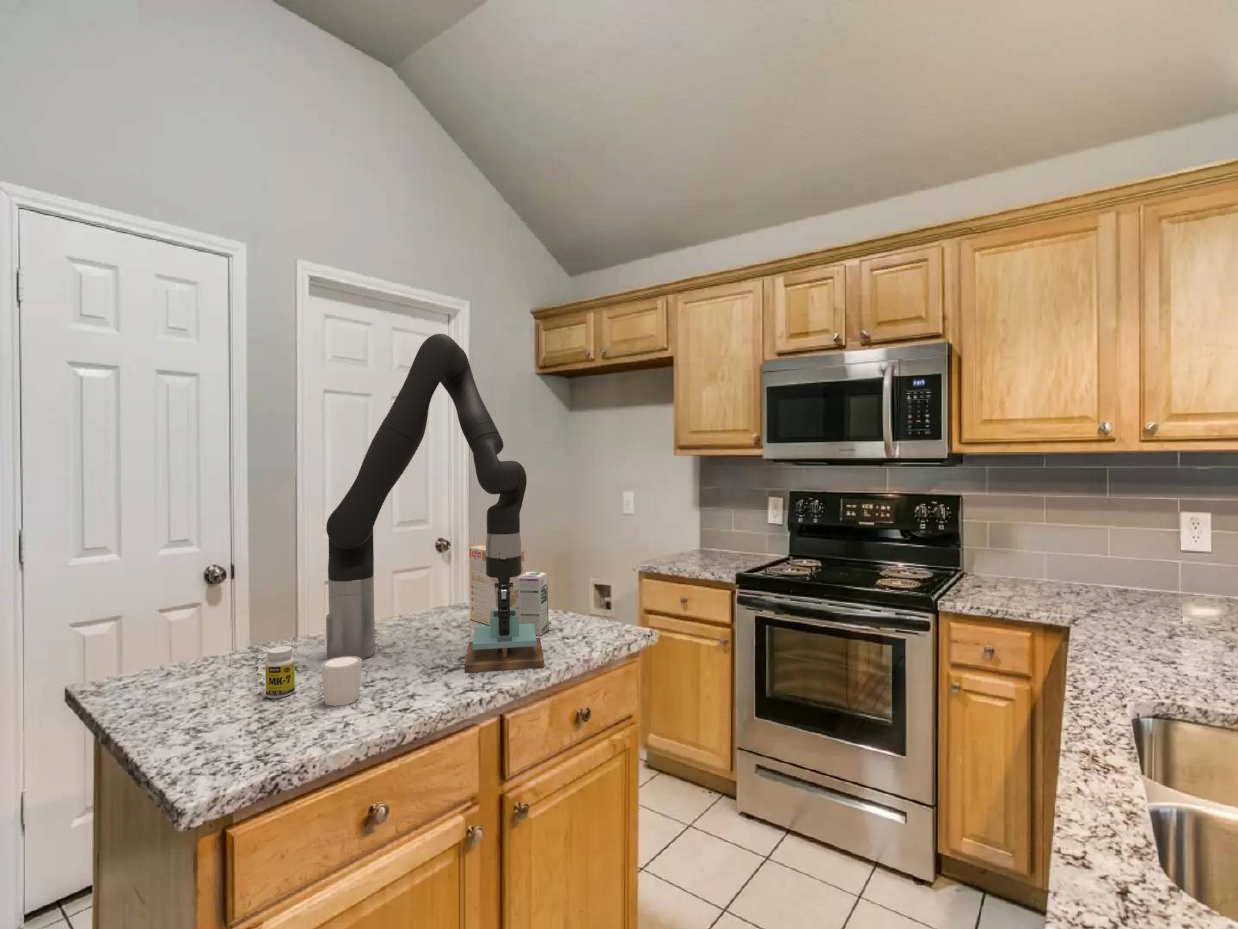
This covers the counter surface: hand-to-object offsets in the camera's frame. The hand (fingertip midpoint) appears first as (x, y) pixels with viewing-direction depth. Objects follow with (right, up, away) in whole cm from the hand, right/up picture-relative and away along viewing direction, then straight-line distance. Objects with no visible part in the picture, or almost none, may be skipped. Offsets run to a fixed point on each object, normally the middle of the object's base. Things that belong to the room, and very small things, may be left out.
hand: (504, 630), depth 139 cm
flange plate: (0, -2, 0) cm, 2 cm away
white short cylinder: (-25, -7, -23) cm, 35 cm away
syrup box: (+4, -6, +19) cm, 20 cm away
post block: (0, -6, 0) cm, 6 cm away
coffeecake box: (-7, -5, +28) cm, 30 cm away
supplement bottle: (-38, -7, -20) cm, 43 cm away
